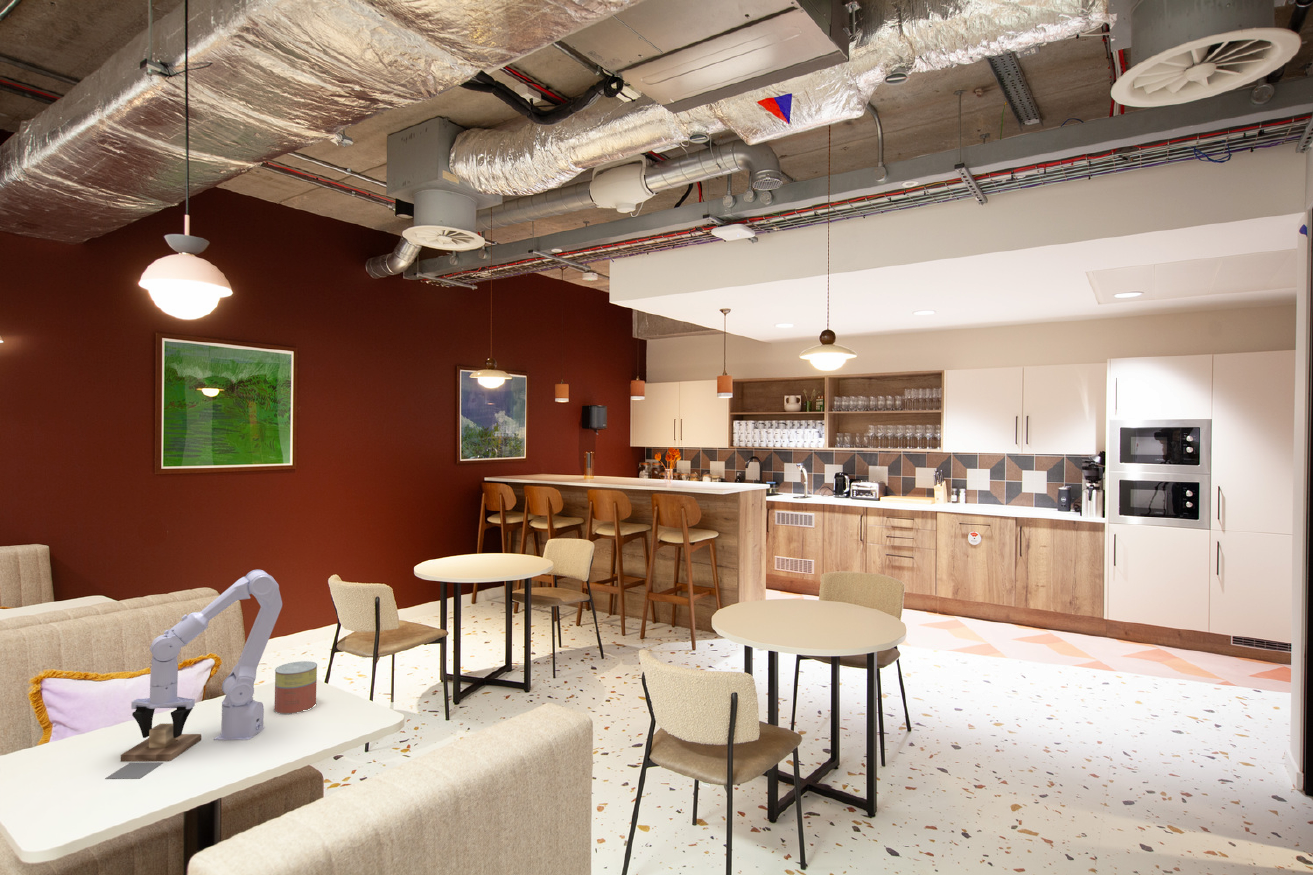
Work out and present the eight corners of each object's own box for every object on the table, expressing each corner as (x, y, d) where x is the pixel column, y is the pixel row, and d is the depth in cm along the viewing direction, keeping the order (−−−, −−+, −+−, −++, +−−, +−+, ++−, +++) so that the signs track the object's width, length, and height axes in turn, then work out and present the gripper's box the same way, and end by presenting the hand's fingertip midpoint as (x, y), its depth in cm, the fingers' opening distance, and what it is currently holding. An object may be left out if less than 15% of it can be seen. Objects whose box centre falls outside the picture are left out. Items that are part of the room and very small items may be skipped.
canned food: (324, 700, 208) (324, 662, 209) (301, 715, 197) (302, 674, 197) (289, 699, 209) (290, 660, 210) (265, 713, 198) (266, 672, 198)
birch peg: (175, 746, 174) (176, 723, 175) (164, 753, 170) (165, 729, 171) (159, 746, 174) (160, 723, 174) (148, 753, 170) (149, 729, 170)
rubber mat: (163, 764, 166) (163, 762, 166) (140, 780, 158) (140, 778, 158) (130, 764, 165) (130, 762, 165) (104, 780, 157) (104, 778, 157)
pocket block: (201, 741, 179) (201, 733, 179) (170, 762, 167) (170, 754, 167) (154, 741, 178) (154, 734, 178) (120, 762, 166) (120, 754, 166)
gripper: (123, 688, 168) (121, 743, 168) (182, 688, 169) (181, 742, 169) (143, 678, 175) (141, 731, 175) (200, 678, 176) (198, 731, 176)
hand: (162, 736), depth 172 cm, fingers open, 7 cm apart
